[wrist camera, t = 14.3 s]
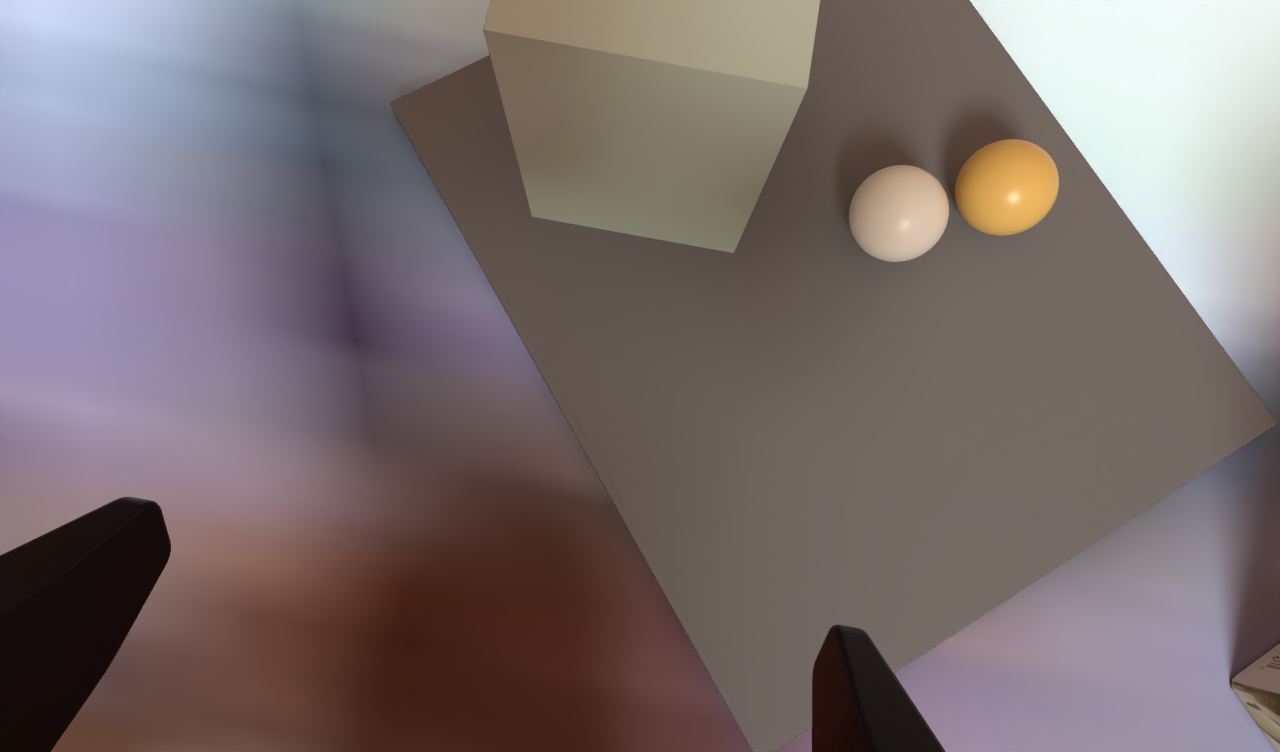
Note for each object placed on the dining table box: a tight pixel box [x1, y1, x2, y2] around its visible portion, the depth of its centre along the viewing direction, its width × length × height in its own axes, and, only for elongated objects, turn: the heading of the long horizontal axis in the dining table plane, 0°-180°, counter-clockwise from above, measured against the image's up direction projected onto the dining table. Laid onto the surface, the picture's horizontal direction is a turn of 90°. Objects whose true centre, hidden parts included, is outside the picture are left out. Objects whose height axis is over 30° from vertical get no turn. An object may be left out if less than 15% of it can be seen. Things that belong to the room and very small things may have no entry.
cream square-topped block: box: [484, 0, 820, 253], centre depth 21 cm, size 7×7×10 cm
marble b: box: [955, 139, 1059, 236], centre depth 24 cm, size 3×3×3 cm
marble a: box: [849, 165, 949, 262], centre depth 24 cm, size 3×3×3 cm
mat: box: [390, 0, 1278, 752], centre depth 25 cm, size 24×20×1 cm
